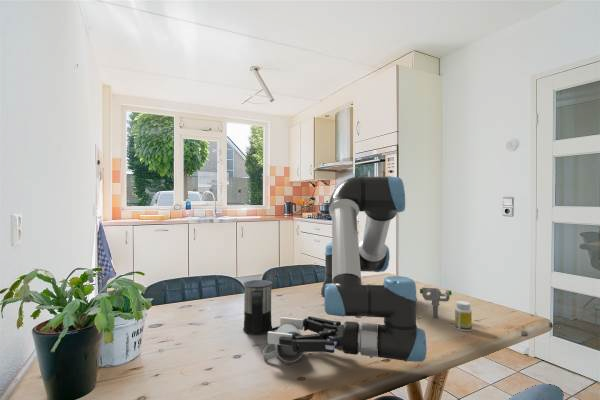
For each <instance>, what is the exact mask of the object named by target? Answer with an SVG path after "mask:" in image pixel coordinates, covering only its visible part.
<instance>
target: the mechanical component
mask: <svg viewBox="0 0 600 400" xmlns="http://www.w3.org/2000/svg"><path fill="white" fill-rule="evenodd" d="M428 293H429V294H428ZM452 293H453V292H452V290H449V289H445V292H444V293H442V292H441V289H440V288H437V287H434V288H433V287H421V288H420V289H419V294H422V295H421V296H422V297H423V299H424V300H425V301H430V302H431V305H432V317H433V319H438V317H439V306H440V302H449V301H450V297H451V296H452ZM442 297H445V298H442Z"/></svg>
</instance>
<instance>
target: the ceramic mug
mask: <svg viewBox="0 0 600 400" xmlns="http://www.w3.org/2000/svg"><path fill="white" fill-rule="evenodd" d="M279 326H280V325H279ZM275 332H279V333H288V334H293V333H294V334H295V336H300V335H303V334H302V333H301V332H300V330H299V329H297V328H296V327H295V326H293V325H291V324H285V325H282V326H280V327H279V328H278V329H277V330H275ZM273 349H275V350H273ZM271 350H273V351H271ZM304 354H305V352H293V348H292V346H286V345H278V344H269V343H268V344H267V345H266V346H265V348H263V350H262V355H263V357H264V359H265V360H268V361H269V360H272V359H275V358H277V357H278V358H279V360H281V361H282V362H285V363H295V362H297V361H299V360H301V358H302V357H303V356H304Z"/></svg>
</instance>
